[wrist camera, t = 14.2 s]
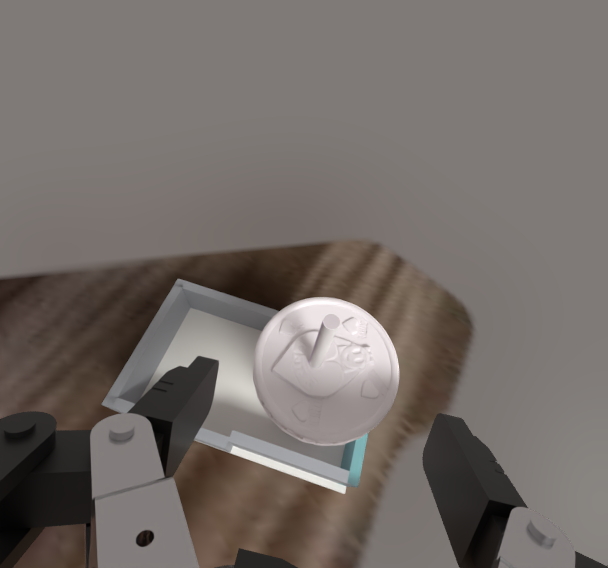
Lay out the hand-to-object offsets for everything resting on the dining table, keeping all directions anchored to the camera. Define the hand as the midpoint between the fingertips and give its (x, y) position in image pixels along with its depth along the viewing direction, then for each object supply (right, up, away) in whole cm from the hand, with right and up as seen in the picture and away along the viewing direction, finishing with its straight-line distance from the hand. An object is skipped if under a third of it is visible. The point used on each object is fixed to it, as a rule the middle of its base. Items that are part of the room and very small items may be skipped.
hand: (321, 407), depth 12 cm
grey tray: (-4, -3, +12) cm, 13 cm away
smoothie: (-1, -4, +11) cm, 11 cm away
